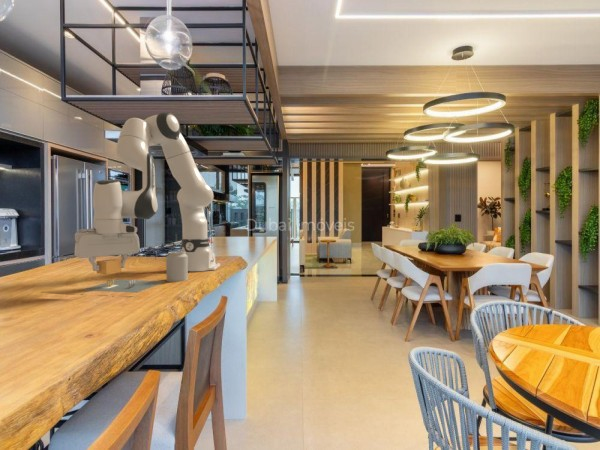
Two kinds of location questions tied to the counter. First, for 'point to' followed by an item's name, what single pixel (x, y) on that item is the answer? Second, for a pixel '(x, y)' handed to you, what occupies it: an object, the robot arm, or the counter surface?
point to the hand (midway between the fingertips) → (108, 269)
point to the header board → (124, 286)
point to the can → (177, 266)
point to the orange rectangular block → (109, 266)
